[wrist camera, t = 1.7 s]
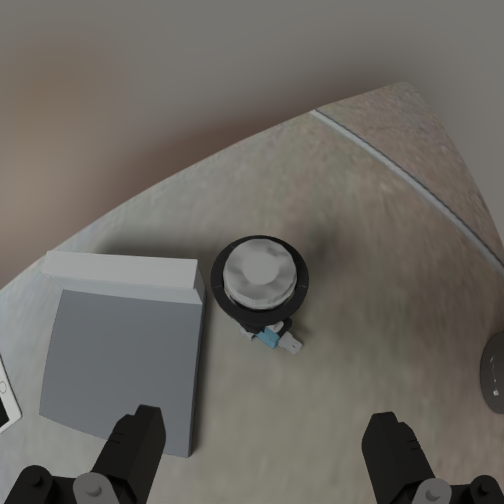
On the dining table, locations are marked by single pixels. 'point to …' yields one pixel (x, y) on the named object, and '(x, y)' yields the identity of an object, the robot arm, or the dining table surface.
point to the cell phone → (7, 402)
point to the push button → (261, 287)
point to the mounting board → (124, 342)
